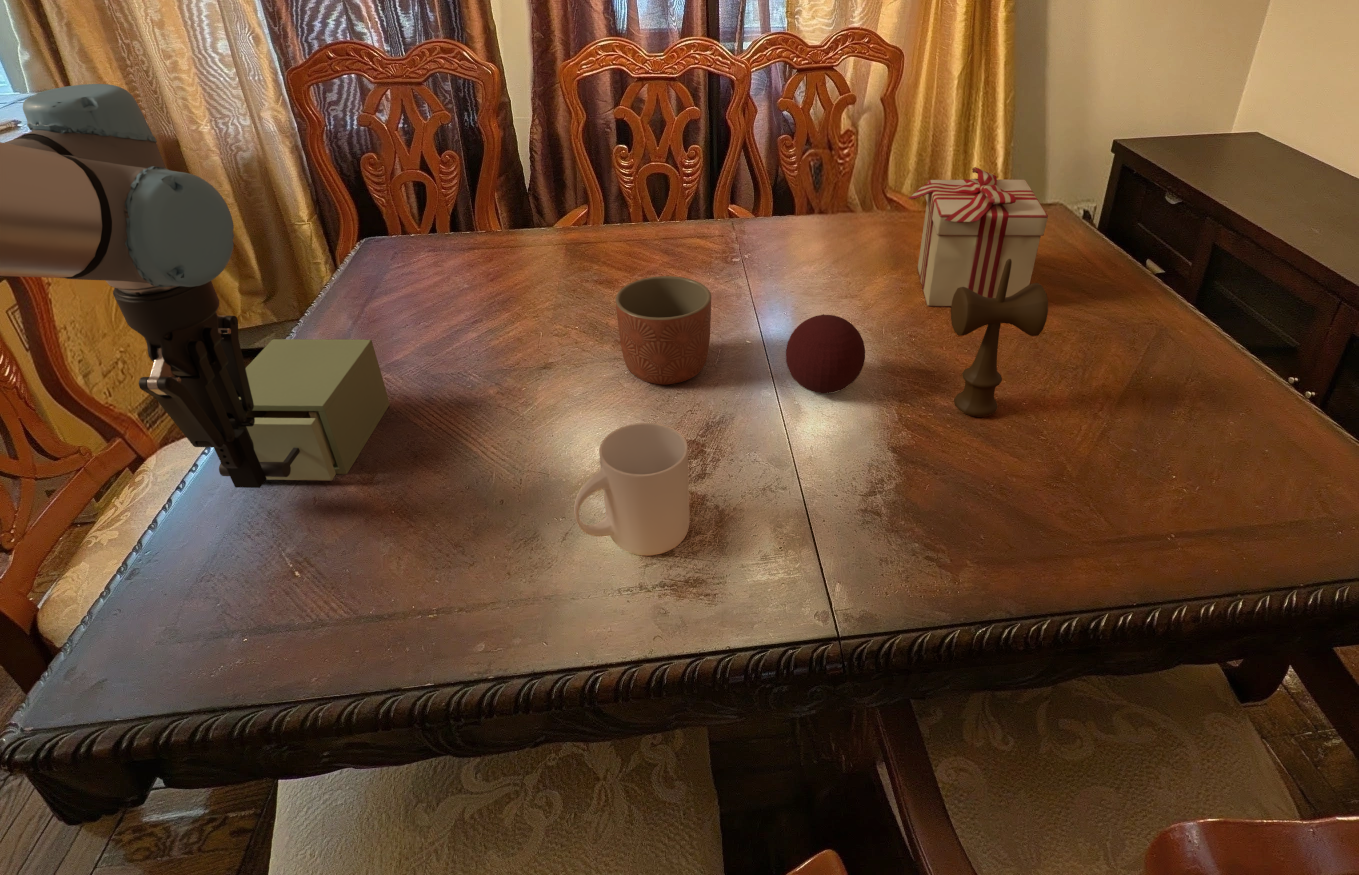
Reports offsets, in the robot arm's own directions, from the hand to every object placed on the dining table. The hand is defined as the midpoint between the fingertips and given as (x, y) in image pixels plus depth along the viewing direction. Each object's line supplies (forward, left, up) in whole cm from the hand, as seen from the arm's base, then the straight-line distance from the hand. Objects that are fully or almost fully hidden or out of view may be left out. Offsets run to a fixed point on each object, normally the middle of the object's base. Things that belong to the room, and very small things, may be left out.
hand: (250, 483), depth 84 cm
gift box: (+103, -1, -5) cm, 103 cm away
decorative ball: (+67, -12, -5) cm, 68 cm away
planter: (+52, +3, -5) cm, 52 cm away
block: (+6, +9, -3) cm, 11 cm away
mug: (+33, -24, -5) cm, 41 cm away
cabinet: (+8, +12, -5) cm, 15 cm away
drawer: (+5, +8, -4) cm, 10 cm away
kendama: (+80, -26, -5) cm, 84 cm away
